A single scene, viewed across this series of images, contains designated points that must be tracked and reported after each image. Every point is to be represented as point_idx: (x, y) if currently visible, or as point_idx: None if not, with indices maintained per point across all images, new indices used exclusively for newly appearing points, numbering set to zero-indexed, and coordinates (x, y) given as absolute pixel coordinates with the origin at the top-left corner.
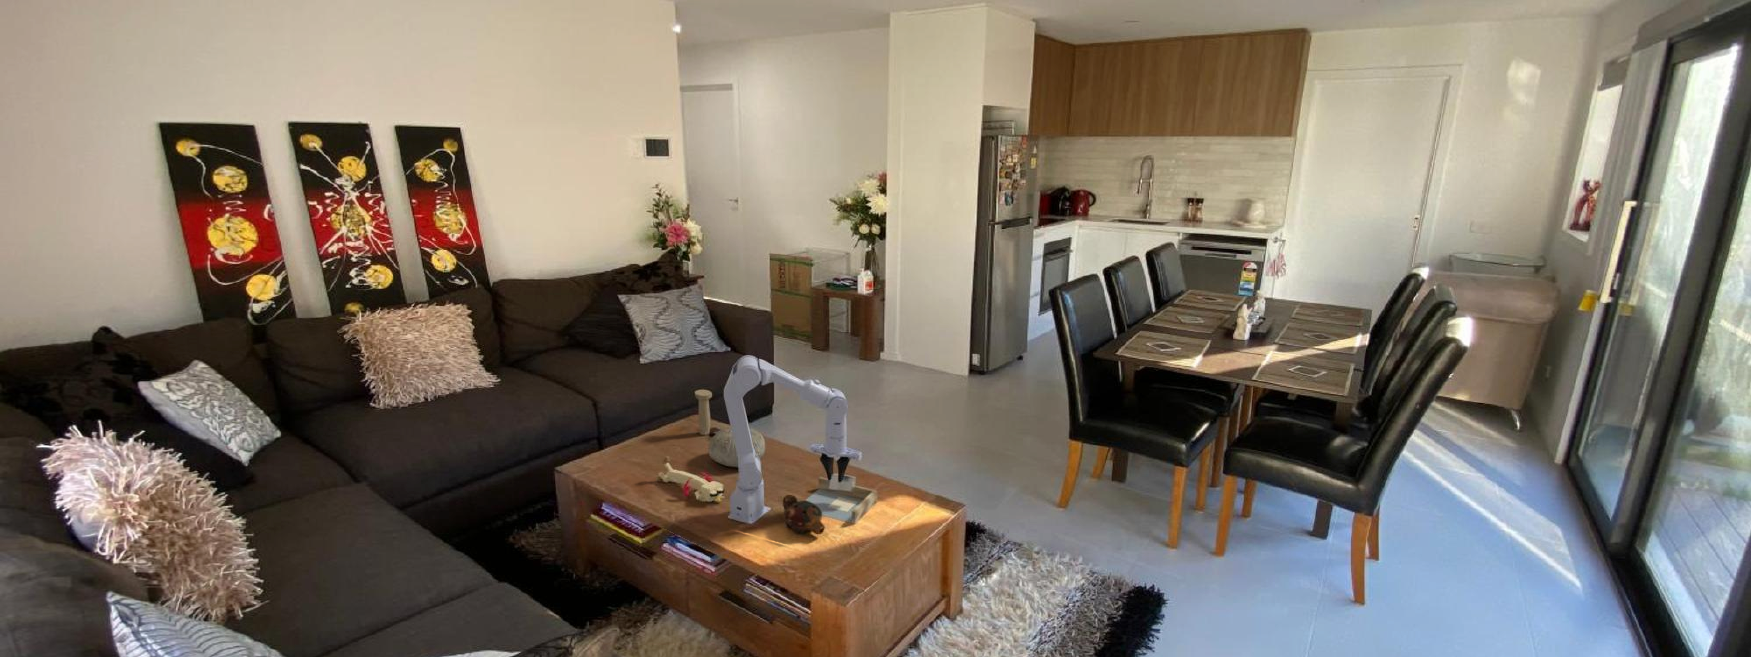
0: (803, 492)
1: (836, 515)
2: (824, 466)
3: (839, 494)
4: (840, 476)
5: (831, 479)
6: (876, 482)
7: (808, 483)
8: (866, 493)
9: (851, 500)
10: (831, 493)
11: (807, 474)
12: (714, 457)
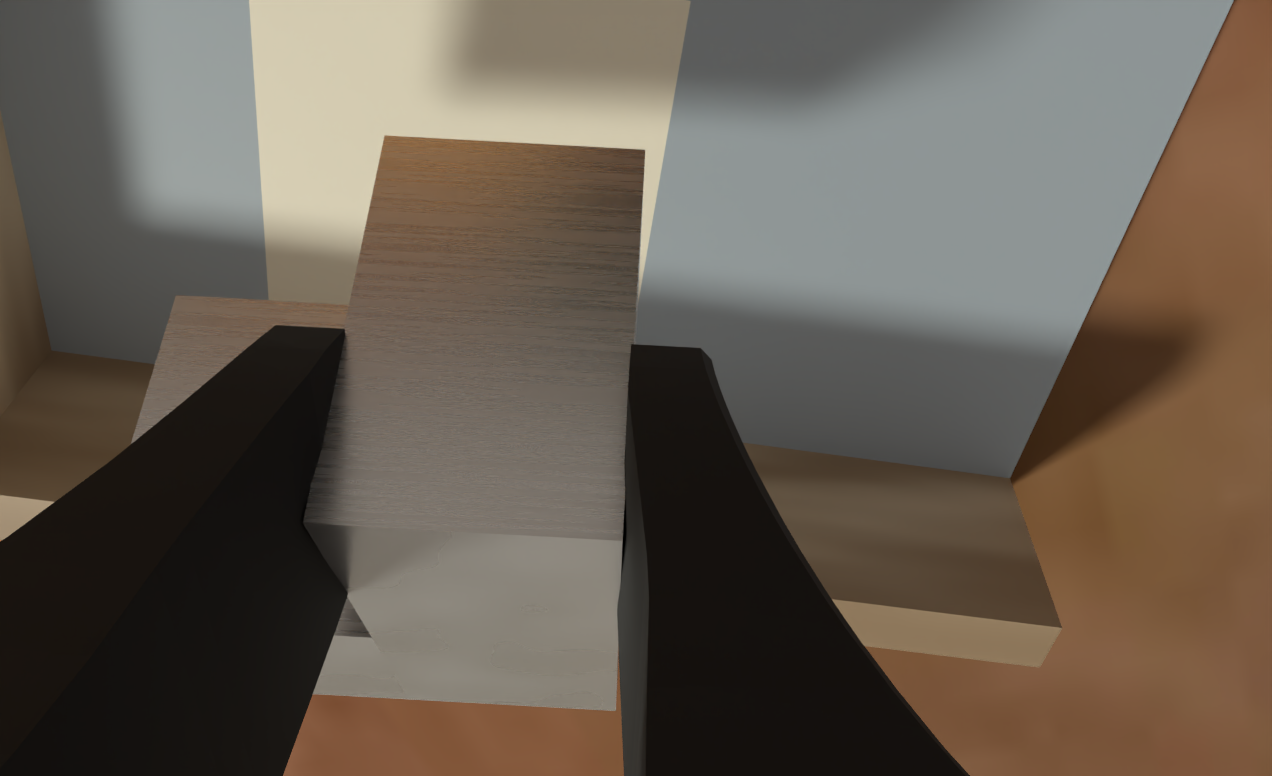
0: (1248, 360)
1: None
2: (881, 725)
3: None
4: (148, 434)
5: (593, 380)
6: (337, 771)
7: (1193, 587)
8: (105, 454)
9: None
10: (775, 425)
11: (1233, 749)
12: None
